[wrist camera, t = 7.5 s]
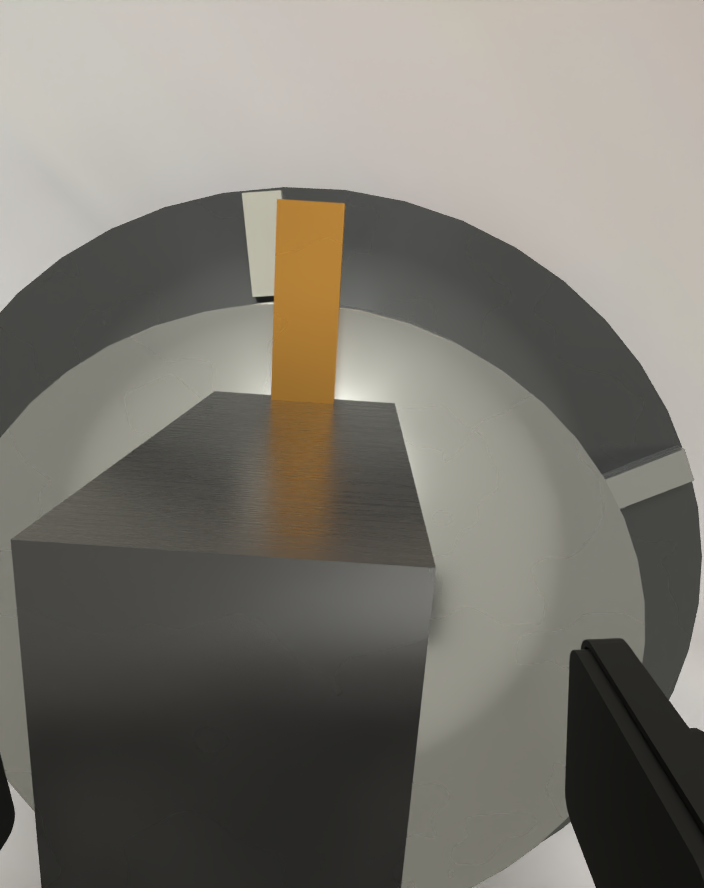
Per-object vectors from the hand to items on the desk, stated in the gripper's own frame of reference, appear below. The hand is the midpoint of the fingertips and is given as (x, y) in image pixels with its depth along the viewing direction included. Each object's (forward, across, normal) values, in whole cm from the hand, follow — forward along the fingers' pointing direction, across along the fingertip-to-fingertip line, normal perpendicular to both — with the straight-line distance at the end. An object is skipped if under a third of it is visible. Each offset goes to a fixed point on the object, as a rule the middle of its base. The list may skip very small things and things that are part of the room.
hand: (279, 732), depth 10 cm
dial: (+3, 0, -1) cm, 3 cm away
